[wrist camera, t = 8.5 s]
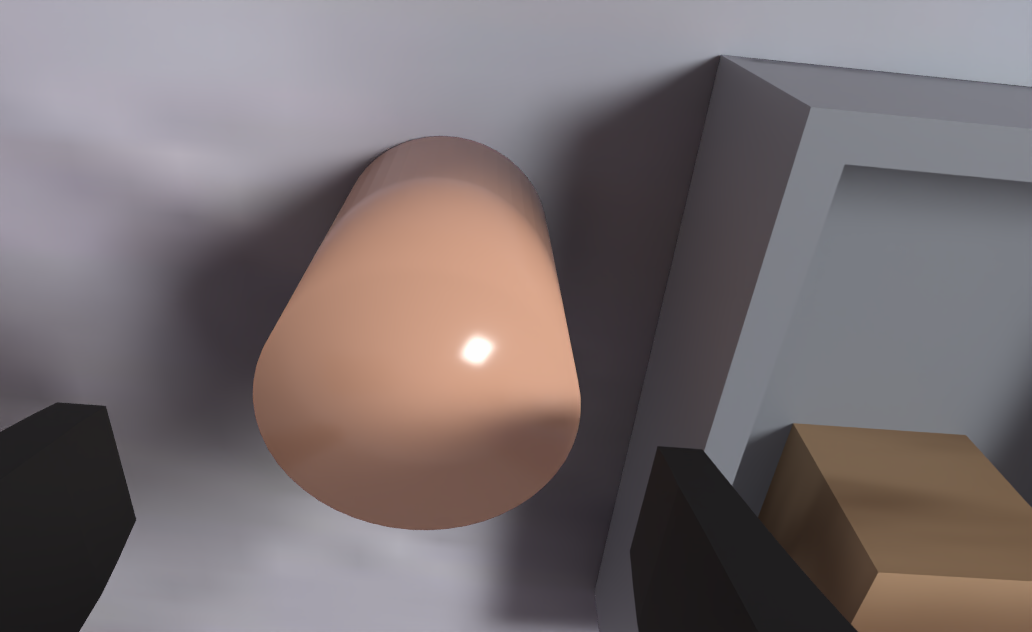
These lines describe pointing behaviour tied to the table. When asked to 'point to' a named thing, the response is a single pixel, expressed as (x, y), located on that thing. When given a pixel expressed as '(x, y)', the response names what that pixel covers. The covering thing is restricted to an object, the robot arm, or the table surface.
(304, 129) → the table surface
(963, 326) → the tote
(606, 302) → the table surface
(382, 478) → the peach rounded capsule
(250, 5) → the table surface
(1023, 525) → the cube
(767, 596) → the robot arm
